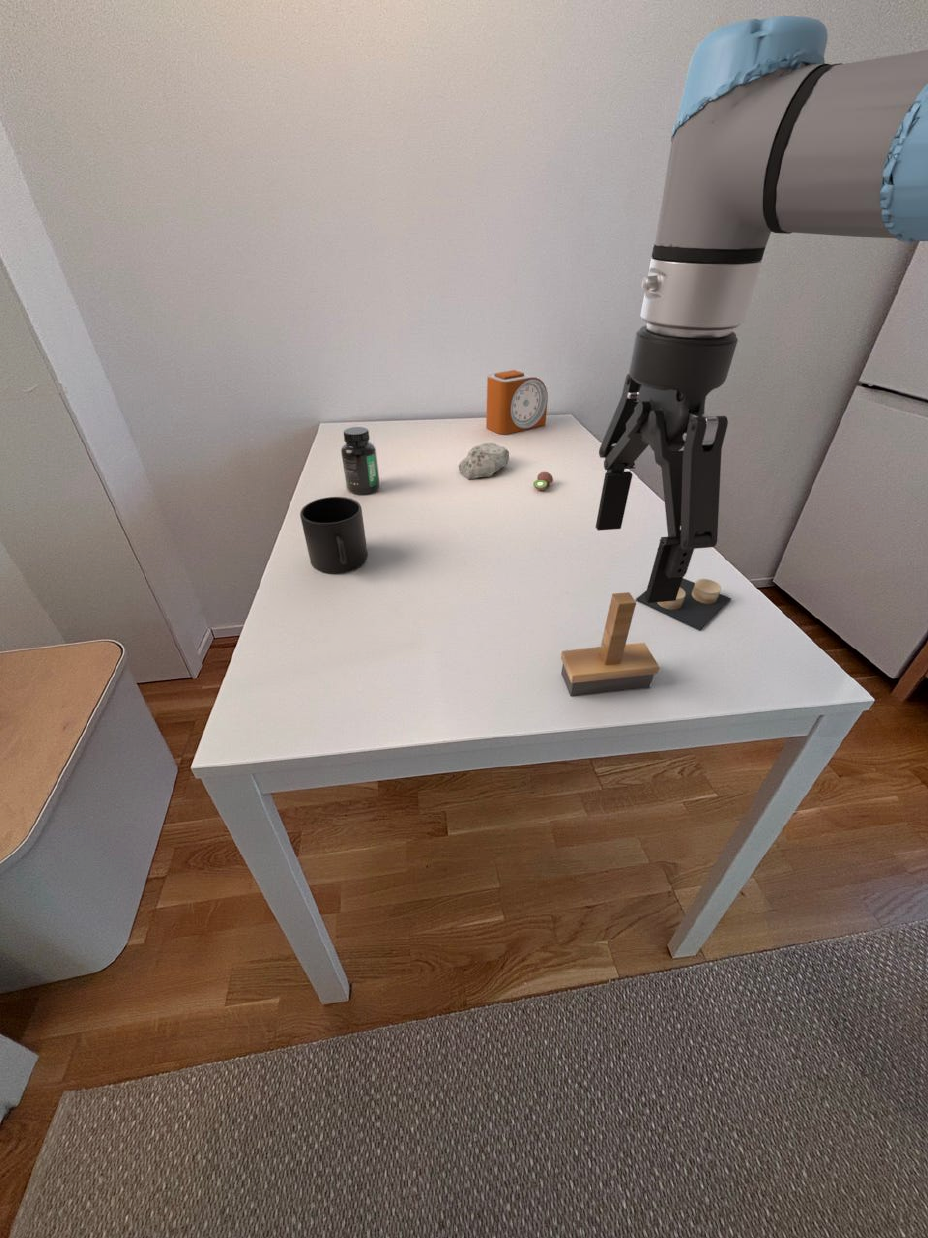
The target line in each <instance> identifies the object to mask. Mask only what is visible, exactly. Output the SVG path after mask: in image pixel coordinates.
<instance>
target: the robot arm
mask: <svg viewBox="0 0 928 1238" xmlns="http://www.w3.org/2000/svg"><path fill="white" fill-rule="evenodd" d="M828 34H829V33H828V29H827V27H826V25H825V24H824V23H823V22H822V21H820V20H819V19H817V18H812V17H808V16H796V15H779V16H772V17H769V18H762V19H757V18H752V19H751V18H750V19H746V20H740V21H736V22H733V23H729V24H726V25H723V26H721V27H718V28H717V29H715V30H713V31H711V32H710V33H708V34H707V35H706V36H705V37H704V38H703V39H702V40H701V41H700V42H699V44H698V45H697V46H696V48H695V50H694V52H693V53H692V57H691V58H690V62H689V66H688V68H687V69H688V71H687V74H686V78H685V81H684V82H685V83H684V86H683V87H684V88H683V92H682V95H681V100H680V104H679V109H678V113H677V118H676V122H675V123H674V125H673V127H672V131H671V133H670V134H671V135H670V143H671V144H670V150H669V155H668V162H667V169H666V176H665V181H664V189H663V194H662V201H661V207H660V213H659V219H658V224H657V230H656V235H655V240H654V243H653V248H652V251H651V258H650V263H649V268H648V273H647V276H645V277H644V278H643V279H642V280H641V290H642V291H643V292H644V294H643V301H642V305H641V310H640V315H639V316H640V318H641V319H642V321H643V322H645V323H646V324H645V325H643V326H641V327H640V328H639V330H637V331H636V333H635V338H634V343H633V349H632V354H631V359H630V365H629V372H628V373H627V374H626V377H625V378H624V379H625V381H624V384H623V387H622V393H621V397H620V399H619V402H618V404H617V406H616V408H615V411H614V413H613V415H612V418H611V421H610V423H609V424H608V427H607V430H606V432H605V435H604V437H603V440H602V442H601V444H600V447H599V450H598V455H599V458H600V459H604V460H603V468H604V470H605V471H606V472H605V473H604V479H603V483H602V484H603V485H602V489H601V495H600V499H599V500H600V502H599V506H598V511H597V517H596V523H595V529H596V530H597V531H598V532H599V531H611V530H613V531H614V530H621V529H622V525H623V521H624V516H625V512H626V507H627V503H628V498H629V493H630V488H631V484H632V480H633V476H634V475H633V473H632V472H631V471H630V470H634V469H636V463H635V462H636V461H637V459H638V458H639V457H640V456H641V455H642V453H643V452H644V451H645V450H646V449H647V448H648V446H649V447H650V449H651V450H652V451H653V452H654V453H653V454H654V461H655V463H656V465H658V466H660V467H661V477H662V489H663V498H664V500H663V501H664V509H665V518H666V519H665V520H666V529H667V536H661V537H660V539H659V543H658V548H657V551H656V554H655V557H654V558H655V559H654V562H653V565H652V569H651V573H650V577H649V580H648V584H647V587H646V590H647V591H646V590H645V591H646V594H645V600H646V601H647V603H654V602H665V601H675V600H676V597H677V594H678V591H679V588H680V585H681V582H682V579H683V578H684V577H685V576H686V575H687V572H688V570H689V566H690V563H691V560H692V557H693V554H694V551H695V550H697V549H708V548H715V547H716V546H717V544H718V533H719V514H720V512H719V511H720V492H721V469H722V452H723V451H722V450H723V445H724V442H725V437H726V433H727V429H728V424H729V421H728V417H727V416H726V415H708V414H705V408H706V406H705V405H706V399H707V396H708V395H709V394H710V393H711V392H712V391H714V390H716V389H718V388H720V387H721V386H723V385H724V383H726V380H727V378H728V374H729V371H730V368H731V365H732V361H733V359H734V354H735V351H736V348H737V344H738V341H739V339H738V337H737V334H736V333H735V332H734V331H733V330H734V329H736V328H738V327H739V326H741V325H743V324H744V323H745V320H746V317H747V313H748V311H749V310H748V309H749V306H750V303H751V300H752V296H753V293H754V289H755V286H756V282H757V278H758V276H759V272H760V268H761V265H762V261H763V256H764V253H765V250H766V248H767V244H768V241H769V239H770V237H771V233H774V234H783V235H785V234H786V235H791V234H794V233H795V234H806V235H807V234H808V235H822V236H838V237H855V238H856V237H857V238H879V239H897V240H898V241H899V242H901V243H902V242H904V243H911V244H912V243H914V242H928V49H924V50H919V51H913V52H907V53H901V54H895V55H889V56H883V57H877V58H870V59H865V60H859V61H853V62H847V63H842V62H841V63H833V64H831V63H825V62H826V60H825V53H826V50H827V49H826V48H827V44H828ZM614 444H615V445H614ZM626 470H629V471H626Z"/></svg>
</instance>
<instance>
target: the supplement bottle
mask: <svg viewBox="0 0 928 1238" xmlns="http://www.w3.org/2000/svg"><path fill="white" fill-rule="evenodd" d="M370 440H371V437H370V432H369V429H368V428H367V427H363V426H352V427H348V428H346V429H344V430H343V441H344V444H343V445H342V446H341V450H340V453H341V459H342V460H341V461H342V466H343V473H344V480H345V484H346V485H345V486H346V490H347V491H348V492H349V493H350V494H353V495H357V496H364V495H371V494H373V493H376V492H377V491H378V490H379V489H380V476H379V475H380V474H379V465H378V457H377V448H376V446H375V444H374V443H372V442H371V441H370Z"/></svg>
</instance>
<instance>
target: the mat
mask: <svg viewBox="0 0 928 1238" xmlns="http://www.w3.org/2000/svg"><path fill="white" fill-rule="evenodd" d="M694 585H695V582H693V581H691V580H688V579H687V578H684V577H683V579H682V582H681V585H680V588H682V589H683V590H684V591H685V593H686V595H685V598H684V601H683V604H682V607H681V608H679V609H677V610H669V609H665V608H663V607H661V606H660V605H659V604H658V603H657V602H654V603H647V601H646V600H645V594H646V591H647V589H646V590H645V591H643V592H642V593H641V594H639V596H637V597H636V598H635V601H636V602H638V603H640V604H642V605H645V606H647V607H649V608H651V609H653V610H655V611H658V612H659V613H661V614H663V615H665V616H668V617H670V618H671V619H674V620H676V621H678V622H680V623H683V624H685V625H687V626H689V627H691V628H693V629H695V630H698V631H701V630H702V629H703V628H704V627H706V625H707V624H708V623H709V622H711V620H713V619H714V618H715V616H717V614H718V613H719V612H721V610H723V608H724V607H726V606H727V605H728V603H729V602H731V600H732V597H729V596H727V595H725V594H722V593H720V594H719V597H718V599H717V601H716V602H715V603H712V604H705V603H701V602H698V601H696V600H695V599H694V598H693V597H692V591H693V588H694Z"/></svg>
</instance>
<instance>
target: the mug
mask: <svg viewBox="0 0 928 1238" xmlns="http://www.w3.org/2000/svg"><path fill="white" fill-rule="evenodd" d="M299 515H300V521H301V525H302V530H303V534H304V535H303V536H304V538H305V539H304V540H305V543H306V548H307V552H308V557H309V561H310V564H311V566H312V567H313V569H315V570H317V571H319V572H321V573H325V574H344V573H349V572H352V571H354V570H356V569H359V568H361V566H363V565H364V564H365V563H366V561H367V559H368V556H369V554H368V553H369V552H368V545H367V537H366V531H365V523H364V516H363V509H362V505H361V504H360V502H359V501H357V500H355V499H354V498H351V497H345V496H329V497H323V498H319V499H315V500H313V501H310V502H309V503H307V504H305V505H304V506H303V507H302V508H301V510H300V512H299Z"/></svg>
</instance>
